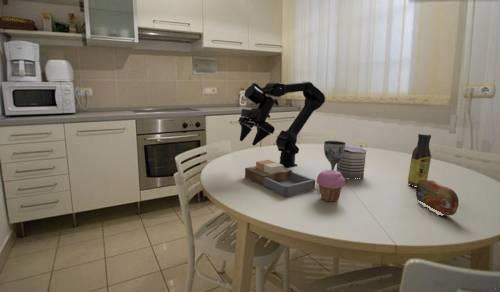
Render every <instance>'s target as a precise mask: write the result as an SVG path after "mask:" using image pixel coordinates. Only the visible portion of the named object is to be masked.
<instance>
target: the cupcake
mask: <svg viewBox="0 0 500 292" xmlns="http://www.w3.org/2000/svg"><path fill="white" fill-rule="evenodd" d="M316 183H317V184H318V190H319V194H320V197H321V198H322V199H324V201H325V202H338V201H339V199H340V196H341V192H342V188H343V187H344V186H345V185H346V179H345V178H343V176H342V174H341V173H340V172H339V171H336V170H335V169H334V170H331V169H324V170H322V171H320V172H319V173H318V175H317V177H316Z"/></svg>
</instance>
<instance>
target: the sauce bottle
mask: <svg viewBox="0 0 500 292" xmlns="http://www.w3.org/2000/svg"><path fill="white" fill-rule="evenodd" d="M431 138H432V135H431V134H429V133H418V136H417V144H416V146H415V147H414V149H413V150H412V153H411V159H410V164H409V170H408V176H407V185H408V184H410V185H413V186H417V185H418V184H419V182H420V181H422V180H428V177H429V172H430V166H431V160H432V154H431V149H430V142H431Z"/></svg>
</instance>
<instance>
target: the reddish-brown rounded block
mask: <svg viewBox="0 0 500 292" xmlns="http://www.w3.org/2000/svg"><path fill="white" fill-rule="evenodd" d="M415 194H416V195H415V196H416V199H417V201H418V200H419V201H421V202H423V203H425V204H426V205H428V206H430V207H431V208H433V209H435V210H437V211H439V212H441V213H442V214H444V215H451V216H453V215H455V214H456V213H457V210H458V207H459V197H458V194H457V193H456V191H454V190H453V189H452V188H450V187H448V186H445V185H443V184H441V183H439V182H436V181H435V180H434V181H433V180H430V179H429V180H428V179H427V180H422V181H420V182H419V184H418V185H417V187H416V189H415Z"/></svg>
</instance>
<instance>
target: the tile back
mask: <svg viewBox="0 0 500 292" xmlns="http://www.w3.org/2000/svg"><path fill="white" fill-rule="evenodd" d="M255 162H256V163H255V166H256V168H258V169H260V170H264V164H270V163H276V162H275V161H273V160H270V159H263V160H257V161H255Z"/></svg>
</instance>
